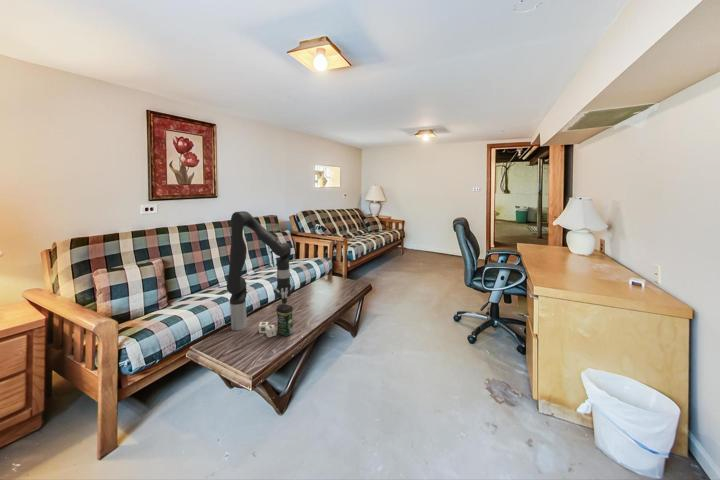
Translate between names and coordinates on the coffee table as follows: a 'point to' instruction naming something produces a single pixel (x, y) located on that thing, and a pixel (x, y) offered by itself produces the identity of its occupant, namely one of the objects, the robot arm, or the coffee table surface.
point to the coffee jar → (284, 319)
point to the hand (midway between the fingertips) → (284, 303)
